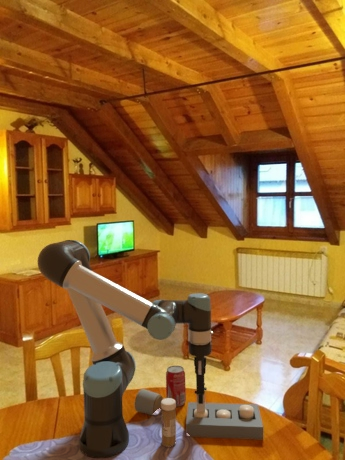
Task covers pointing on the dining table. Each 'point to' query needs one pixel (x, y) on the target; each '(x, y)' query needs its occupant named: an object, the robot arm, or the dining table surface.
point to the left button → (201, 414)
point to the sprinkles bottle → (168, 422)
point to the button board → (224, 422)
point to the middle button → (223, 414)
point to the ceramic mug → (147, 401)
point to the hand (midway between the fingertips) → (200, 410)
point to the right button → (246, 412)
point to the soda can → (176, 384)
